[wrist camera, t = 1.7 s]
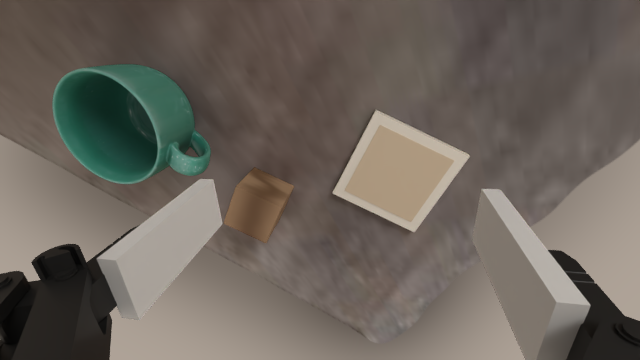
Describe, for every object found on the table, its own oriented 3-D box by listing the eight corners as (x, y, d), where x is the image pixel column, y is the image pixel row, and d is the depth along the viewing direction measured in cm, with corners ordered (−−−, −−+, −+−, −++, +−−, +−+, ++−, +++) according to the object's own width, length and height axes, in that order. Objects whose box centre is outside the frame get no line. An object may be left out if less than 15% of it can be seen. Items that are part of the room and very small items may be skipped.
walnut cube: (242, 200, 45) (223, 223, 39) (254, 167, 42) (235, 186, 37) (279, 218, 45) (265, 243, 39) (294, 185, 42) (281, 207, 37)
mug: (110, 123, 43) (43, 144, 35) (131, 40, 38) (58, 40, 29) (212, 187, 44) (172, 222, 36) (247, 115, 39) (210, 137, 30)
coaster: (333, 190, 41) (332, 193, 40) (375, 109, 36) (375, 110, 35) (413, 228, 41) (414, 232, 40) (468, 153, 36) (470, 156, 35)
